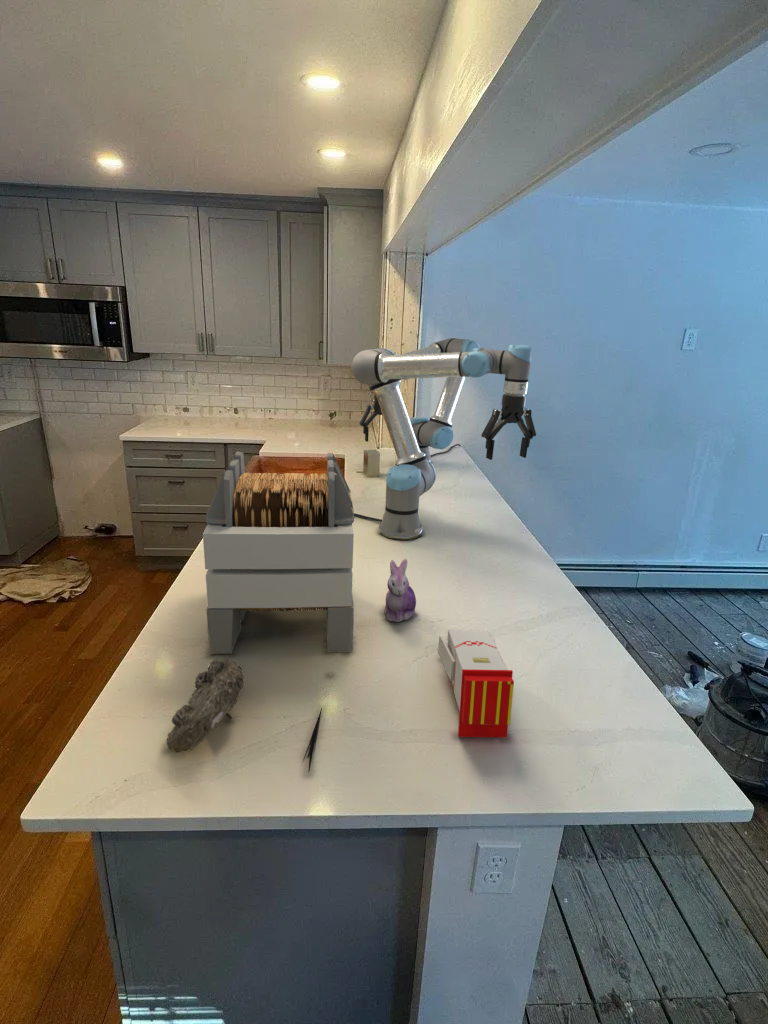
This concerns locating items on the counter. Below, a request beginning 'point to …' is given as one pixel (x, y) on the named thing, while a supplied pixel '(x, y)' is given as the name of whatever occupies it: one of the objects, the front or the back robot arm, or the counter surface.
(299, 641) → the counter surface
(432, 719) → the counter surface
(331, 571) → the record crate
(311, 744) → the feather
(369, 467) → the block
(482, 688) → the toy
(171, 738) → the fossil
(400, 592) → the figurine
